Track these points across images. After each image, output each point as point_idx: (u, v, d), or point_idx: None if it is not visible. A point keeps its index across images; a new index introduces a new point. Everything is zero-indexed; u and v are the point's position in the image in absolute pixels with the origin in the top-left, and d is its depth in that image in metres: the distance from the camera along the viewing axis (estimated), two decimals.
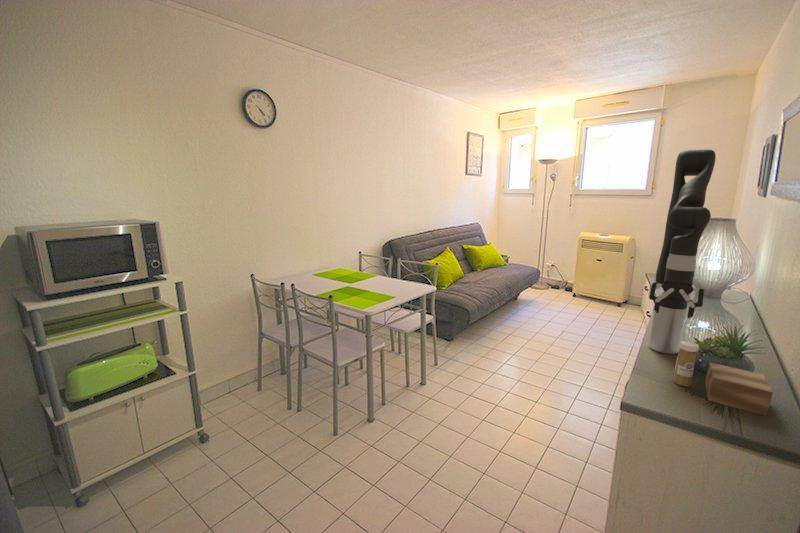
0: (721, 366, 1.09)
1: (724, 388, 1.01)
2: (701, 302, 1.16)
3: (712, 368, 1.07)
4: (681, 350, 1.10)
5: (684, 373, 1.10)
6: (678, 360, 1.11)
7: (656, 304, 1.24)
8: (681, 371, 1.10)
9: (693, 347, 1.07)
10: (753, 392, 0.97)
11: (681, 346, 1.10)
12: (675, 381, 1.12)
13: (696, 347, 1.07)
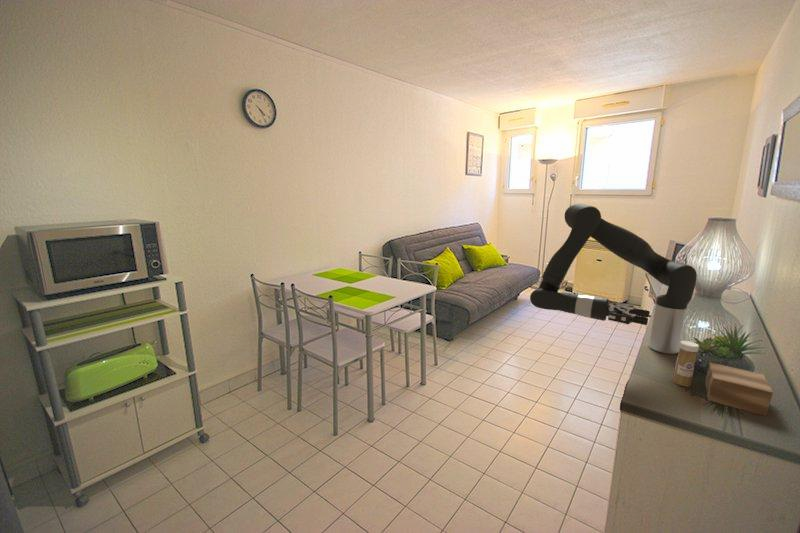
0: (721, 366, 1.09)
1: (724, 388, 1.01)
2: None
3: (712, 368, 1.07)
4: (681, 350, 1.10)
5: (684, 373, 1.10)
6: (678, 360, 1.11)
7: None
8: (681, 371, 1.10)
9: (693, 347, 1.07)
10: (753, 392, 0.97)
11: (681, 346, 1.10)
12: (675, 381, 1.12)
13: (696, 347, 1.07)
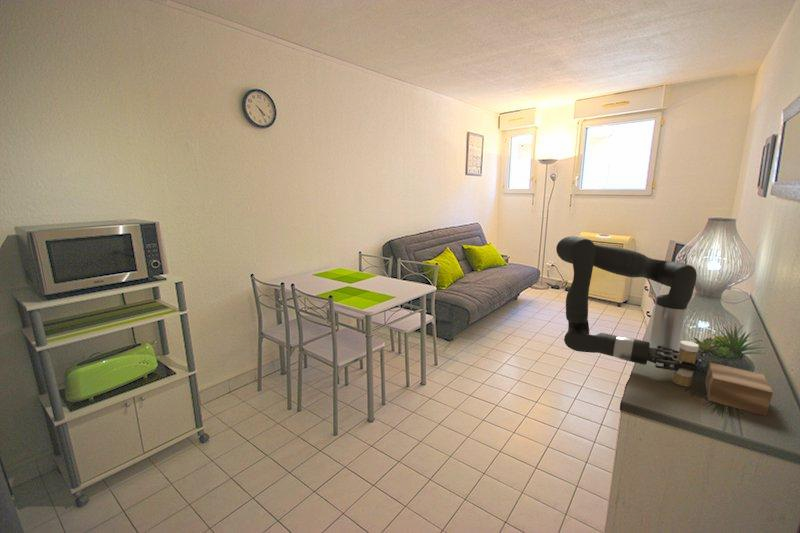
0: (721, 366, 1.09)
1: (724, 388, 1.01)
2: None
3: (712, 368, 1.07)
4: (681, 350, 1.10)
5: (684, 373, 1.10)
6: None
7: None
8: (681, 371, 1.10)
9: (693, 347, 1.07)
10: (753, 392, 0.97)
11: (681, 346, 1.10)
12: (675, 381, 1.12)
13: (696, 347, 1.07)
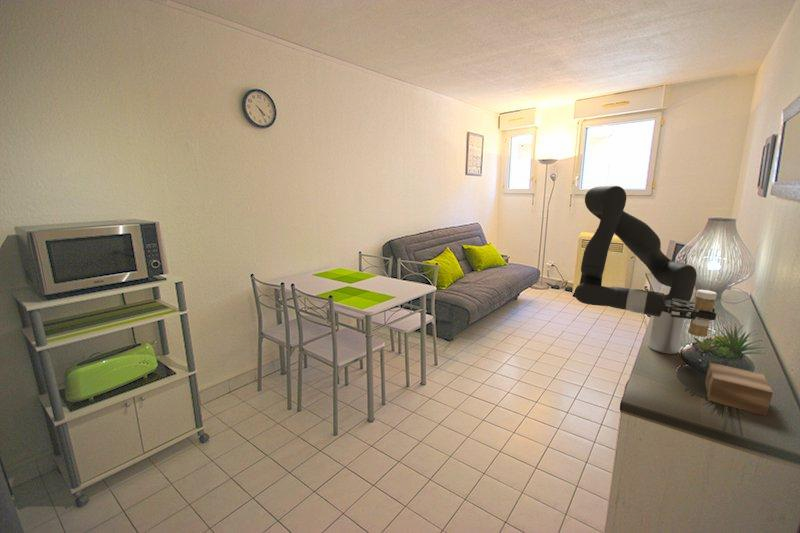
0: (721, 366, 1.09)
1: (724, 388, 1.01)
2: None
3: (712, 368, 1.07)
4: (698, 299, 1.05)
5: (701, 322, 1.05)
6: None
7: None
8: (698, 320, 1.05)
9: (711, 294, 1.03)
10: (753, 392, 0.97)
11: (698, 294, 1.05)
12: (691, 332, 1.07)
13: (714, 294, 1.03)
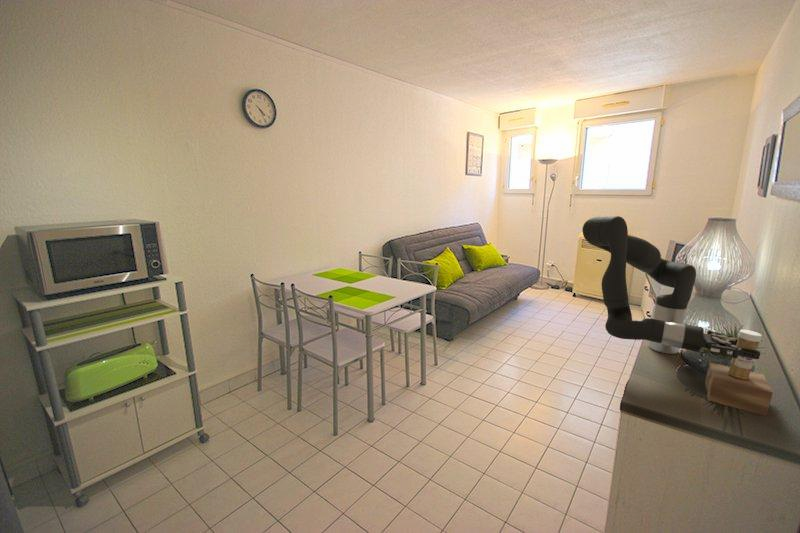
0: (721, 366, 1.09)
1: (724, 388, 1.01)
2: None
3: (712, 368, 1.07)
4: (741, 340, 1.00)
5: (744, 364, 1.00)
6: None
7: None
8: (740, 362, 1.01)
9: (756, 336, 0.98)
10: (753, 392, 0.97)
11: (741, 335, 1.00)
12: (732, 373, 1.03)
13: (759, 336, 0.98)
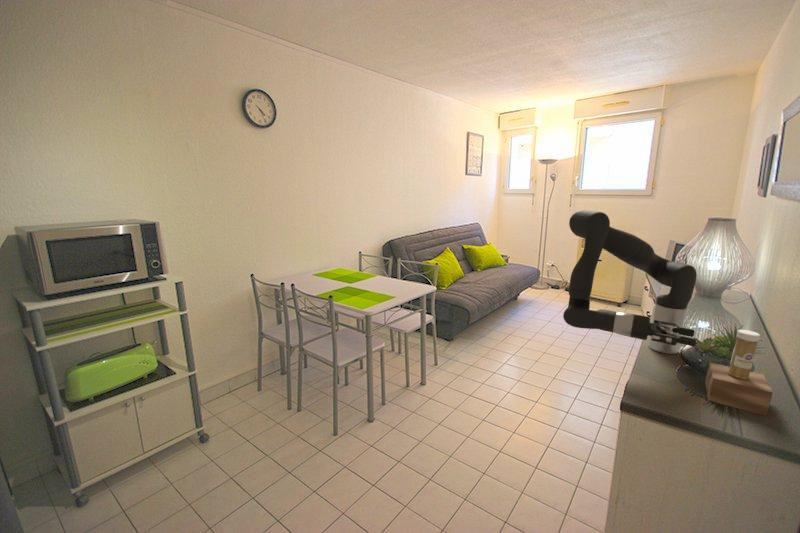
0: (721, 366, 1.09)
1: (724, 388, 1.01)
2: None
3: (712, 368, 1.07)
4: (739, 340, 1.01)
5: (743, 364, 1.00)
6: (735, 351, 1.02)
7: None
8: (739, 362, 1.01)
9: (754, 336, 0.98)
10: (753, 392, 0.97)
11: (740, 335, 1.01)
12: (731, 374, 1.03)
13: (757, 336, 0.98)
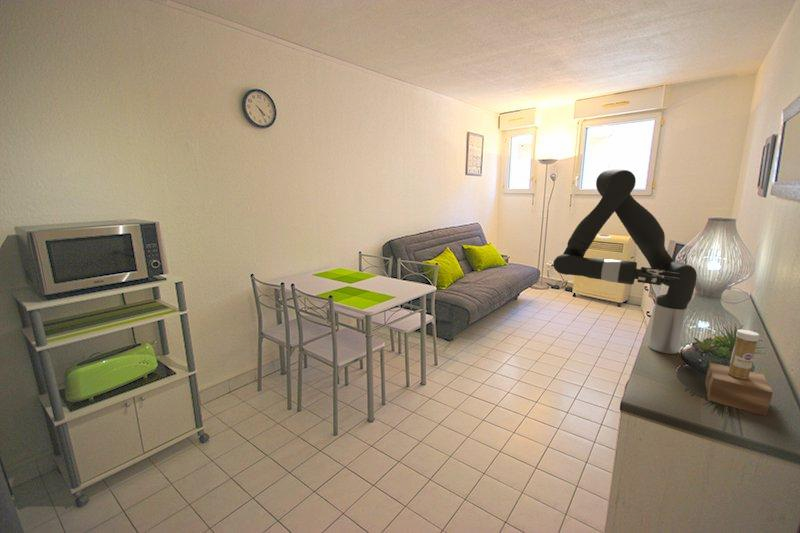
0: (721, 366, 1.09)
1: (724, 388, 1.01)
2: None
3: (712, 368, 1.07)
4: (739, 339, 1.01)
5: (743, 364, 1.00)
6: (735, 350, 1.02)
7: None
8: (739, 362, 1.01)
9: (754, 336, 0.98)
10: (753, 392, 0.97)
11: (739, 335, 1.01)
12: (731, 374, 1.03)
13: (757, 336, 0.98)
